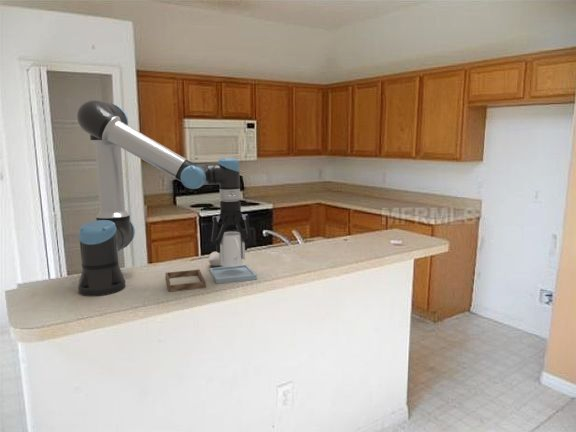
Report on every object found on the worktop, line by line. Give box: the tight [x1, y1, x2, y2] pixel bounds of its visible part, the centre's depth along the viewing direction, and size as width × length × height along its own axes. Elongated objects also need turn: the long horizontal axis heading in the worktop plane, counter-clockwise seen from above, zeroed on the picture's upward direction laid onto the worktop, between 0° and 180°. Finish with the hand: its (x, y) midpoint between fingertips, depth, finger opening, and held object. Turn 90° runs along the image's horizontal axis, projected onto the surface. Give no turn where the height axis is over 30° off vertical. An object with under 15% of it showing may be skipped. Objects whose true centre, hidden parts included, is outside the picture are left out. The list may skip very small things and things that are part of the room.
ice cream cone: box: [207, 251, 221, 267], centre depth 175 cm, size 6×6×15 cm
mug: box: [219, 231, 244, 267], centre depth 161 cm, size 12×8×12 cm
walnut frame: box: [165, 268, 207, 293], centre depth 155 cm, size 13×17×2 cm
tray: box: [209, 264, 258, 285], centre depth 162 cm, size 15×15×2 cm
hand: (232, 259), depth 161 cm, fingers closed on mug, 8 cm apart
